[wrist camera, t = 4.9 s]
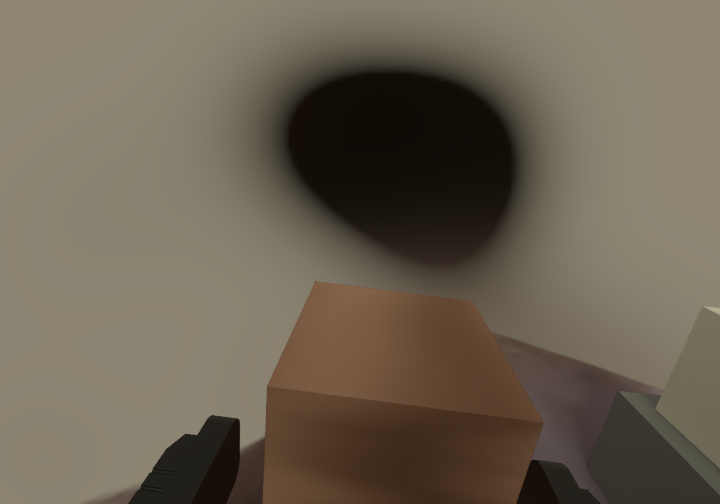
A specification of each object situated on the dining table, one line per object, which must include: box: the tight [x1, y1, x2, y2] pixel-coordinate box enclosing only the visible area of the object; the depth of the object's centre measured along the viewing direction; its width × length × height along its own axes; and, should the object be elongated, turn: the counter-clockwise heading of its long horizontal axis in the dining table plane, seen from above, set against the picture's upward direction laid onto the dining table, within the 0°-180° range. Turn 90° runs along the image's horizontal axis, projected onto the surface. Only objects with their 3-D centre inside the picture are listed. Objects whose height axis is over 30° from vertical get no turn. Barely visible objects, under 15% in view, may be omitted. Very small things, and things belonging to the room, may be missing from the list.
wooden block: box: [263, 281, 544, 504], centre depth 10 cm, size 5×5×10 cm
